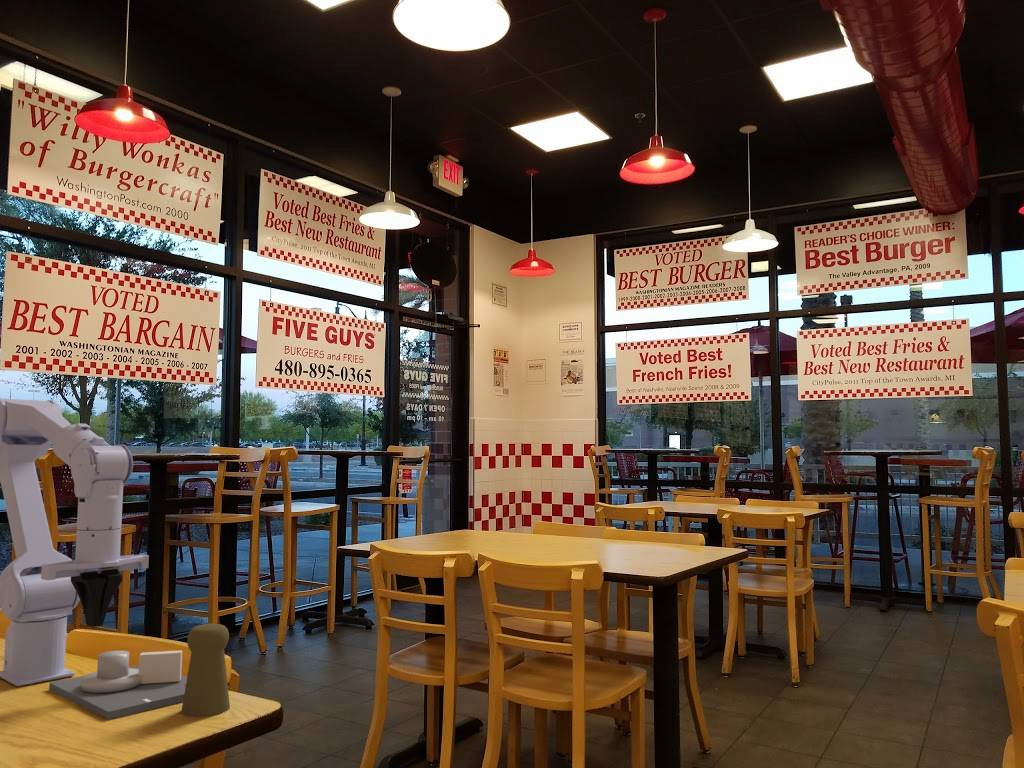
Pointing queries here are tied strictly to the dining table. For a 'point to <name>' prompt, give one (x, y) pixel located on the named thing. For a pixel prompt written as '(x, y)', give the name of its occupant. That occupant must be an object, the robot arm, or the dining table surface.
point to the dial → (132, 671)
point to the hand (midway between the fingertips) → (94, 625)
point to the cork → (206, 672)
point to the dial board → (122, 696)
